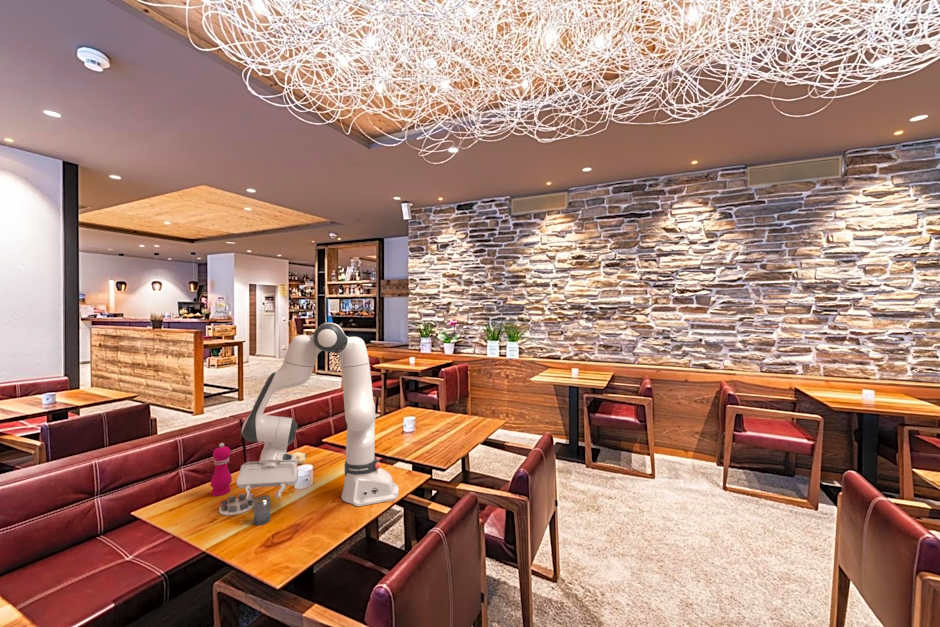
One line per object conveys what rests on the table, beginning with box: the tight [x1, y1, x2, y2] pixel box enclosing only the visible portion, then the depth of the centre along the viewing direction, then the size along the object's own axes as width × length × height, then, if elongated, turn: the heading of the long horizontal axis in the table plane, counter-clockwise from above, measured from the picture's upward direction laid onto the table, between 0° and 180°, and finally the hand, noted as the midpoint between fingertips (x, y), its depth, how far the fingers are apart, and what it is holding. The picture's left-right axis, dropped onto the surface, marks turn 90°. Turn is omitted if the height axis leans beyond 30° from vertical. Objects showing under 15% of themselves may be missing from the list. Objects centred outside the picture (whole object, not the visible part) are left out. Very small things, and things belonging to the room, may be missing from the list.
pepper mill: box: [210, 442, 233, 497], centre depth 155 cm, size 7×7×20 cm
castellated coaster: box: [218, 493, 255, 516], centre depth 144 cm, size 12×12×3 cm
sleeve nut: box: [253, 494, 271, 526], centre depth 134 cm, size 5×5×8 cm
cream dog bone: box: [292, 451, 307, 466], centre depth 178 cm, size 10×9×25 cm
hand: (263, 498), depth 136 cm, fingers open, 8 cm apart
